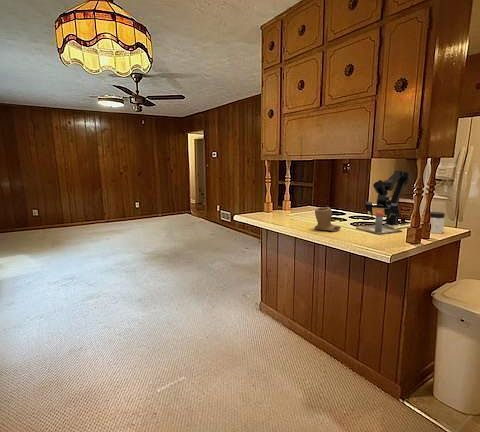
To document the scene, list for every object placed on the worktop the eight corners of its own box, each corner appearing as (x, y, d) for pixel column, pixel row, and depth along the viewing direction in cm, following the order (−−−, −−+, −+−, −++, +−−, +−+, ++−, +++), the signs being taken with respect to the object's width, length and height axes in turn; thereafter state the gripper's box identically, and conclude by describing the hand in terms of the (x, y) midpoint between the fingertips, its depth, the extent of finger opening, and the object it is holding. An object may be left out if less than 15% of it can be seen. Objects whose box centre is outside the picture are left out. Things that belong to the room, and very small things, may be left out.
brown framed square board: (377, 226, 201) (377, 223, 201) (402, 231, 184) (402, 229, 184) (355, 228, 194) (355, 226, 194) (379, 235, 177) (379, 232, 177)
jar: (428, 233, 180) (430, 213, 178) (424, 230, 188) (426, 211, 186) (445, 234, 178) (447, 214, 175) (440, 230, 185) (442, 212, 183)
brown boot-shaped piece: (310, 230, 192) (311, 207, 189) (319, 227, 200) (320, 205, 197) (332, 233, 181) (333, 209, 179) (341, 230, 190) (342, 207, 187)
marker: (378, 230, 184) (379, 210, 182) (383, 231, 180) (385, 211, 178) (373, 231, 182) (374, 211, 180) (378, 232, 178) (379, 212, 176)
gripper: (366, 189, 190) (363, 209, 183) (399, 190, 181) (397, 211, 174) (366, 200, 198) (364, 219, 191) (398, 201, 190) (396, 221, 182)
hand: (380, 217), depth 184 cm, fingers open, 9 cm apart
